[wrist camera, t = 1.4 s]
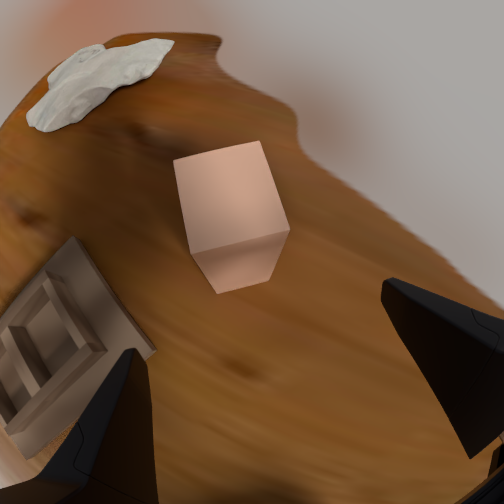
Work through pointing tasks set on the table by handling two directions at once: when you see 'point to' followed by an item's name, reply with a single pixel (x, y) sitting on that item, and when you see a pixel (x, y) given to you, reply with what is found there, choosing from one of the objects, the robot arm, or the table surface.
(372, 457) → the table surface
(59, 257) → the rack
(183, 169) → the clay block
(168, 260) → the table surface
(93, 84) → the rock
